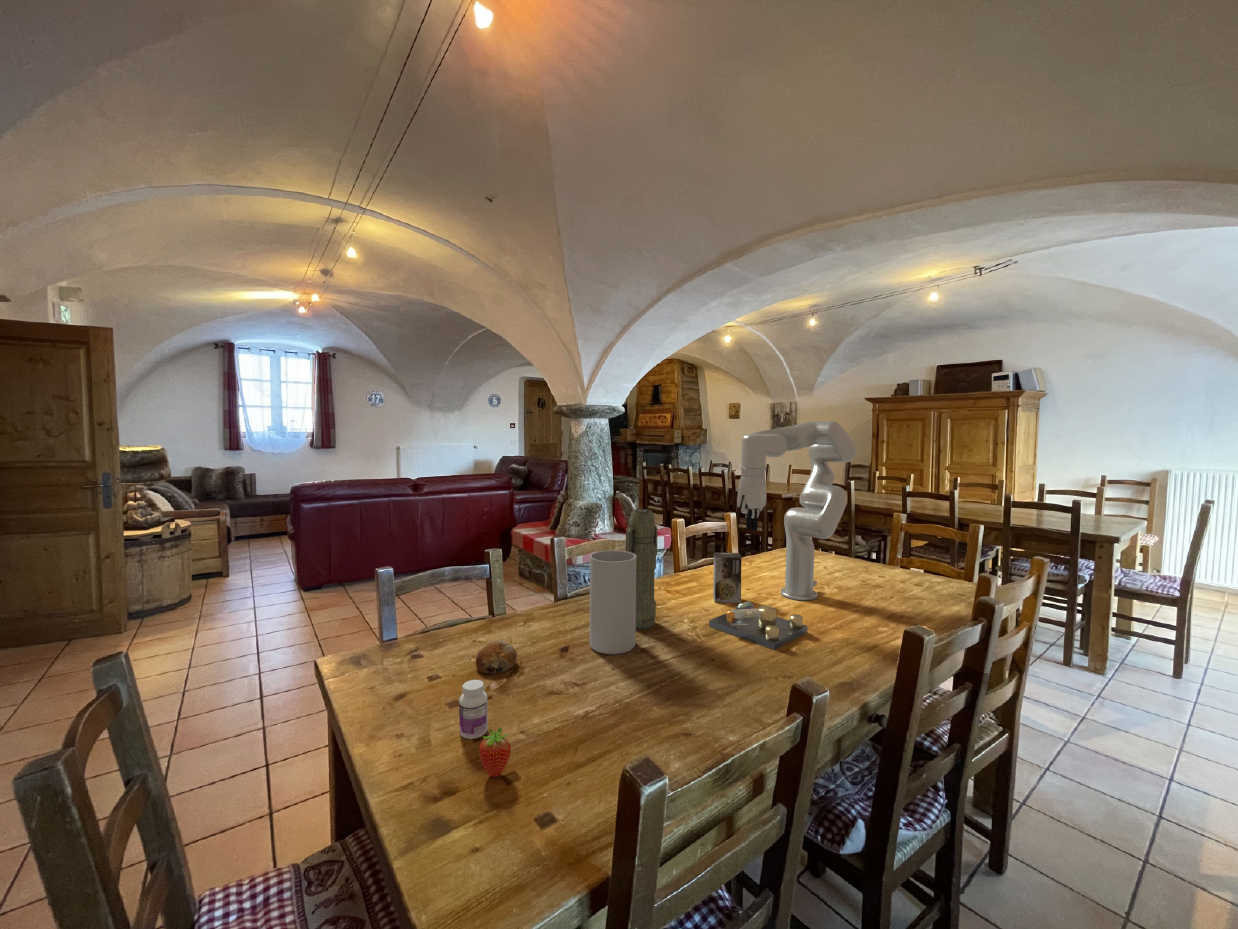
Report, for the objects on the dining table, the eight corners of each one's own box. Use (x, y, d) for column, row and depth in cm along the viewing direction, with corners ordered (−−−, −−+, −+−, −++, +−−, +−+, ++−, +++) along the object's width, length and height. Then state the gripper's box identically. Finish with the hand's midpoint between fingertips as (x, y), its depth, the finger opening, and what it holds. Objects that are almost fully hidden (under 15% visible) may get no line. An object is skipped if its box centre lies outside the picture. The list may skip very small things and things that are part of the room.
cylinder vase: (642, 641, 145) (643, 553, 143) (623, 659, 133) (624, 564, 131) (602, 633, 150) (602, 548, 148) (581, 650, 138) (581, 558, 137)
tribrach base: (743, 612, 168) (743, 597, 167) (807, 632, 152) (807, 616, 151) (709, 626, 156) (709, 610, 155) (774, 650, 140) (774, 632, 139)
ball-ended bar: (771, 622, 154) (771, 605, 154) (778, 628, 149) (779, 611, 149) (723, 624, 152) (724, 607, 152) (729, 630, 147) (730, 613, 147)
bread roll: (520, 677, 131) (526, 644, 134) (500, 676, 122) (507, 641, 125) (486, 670, 134) (493, 638, 137) (464, 670, 125) (472, 635, 128)
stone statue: (664, 622, 159) (665, 509, 156) (640, 633, 150) (641, 514, 148) (641, 615, 165) (643, 506, 162) (617, 625, 156) (618, 510, 153)
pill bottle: (462, 724, 104) (462, 678, 103) (489, 723, 104) (489, 677, 103) (456, 740, 98) (456, 691, 98) (485, 739, 99) (484, 690, 98)
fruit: (473, 780, 87) (472, 734, 87) (491, 761, 92) (490, 718, 92) (500, 788, 85) (499, 741, 85) (517, 769, 90) (516, 725, 90)
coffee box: (738, 597, 183) (739, 552, 182) (741, 603, 176) (742, 557, 175) (712, 596, 184) (713, 551, 182) (714, 602, 177) (715, 556, 176)
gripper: (756, 471, 173) (754, 525, 174) (729, 473, 163) (728, 531, 164) (776, 472, 167) (774, 528, 169) (750, 475, 157) (748, 534, 159)
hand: (751, 529), depth 167 cm, fingers closed
